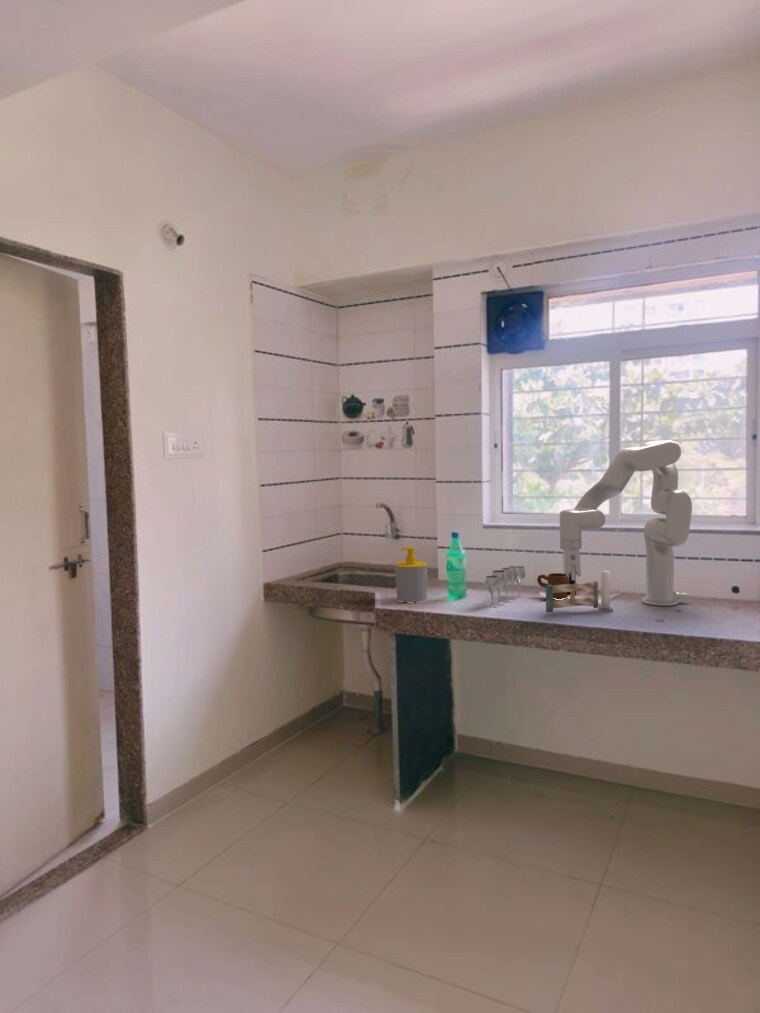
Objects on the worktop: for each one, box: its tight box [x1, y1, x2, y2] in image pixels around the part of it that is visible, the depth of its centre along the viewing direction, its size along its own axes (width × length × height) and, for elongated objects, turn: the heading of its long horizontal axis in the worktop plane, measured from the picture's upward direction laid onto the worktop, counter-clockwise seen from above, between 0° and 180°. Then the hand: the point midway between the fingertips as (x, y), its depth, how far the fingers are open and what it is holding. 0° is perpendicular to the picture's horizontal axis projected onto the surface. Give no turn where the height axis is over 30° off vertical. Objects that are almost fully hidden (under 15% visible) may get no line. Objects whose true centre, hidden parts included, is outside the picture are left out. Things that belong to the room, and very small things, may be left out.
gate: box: [545, 580, 599, 614], centre depth 243 cm, size 20×2×10 cm, turn 104°
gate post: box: [598, 570, 614, 613], centre depth 245 cm, size 4×5×14 cm
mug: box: [536, 572, 569, 599], centre depth 268 cm, size 12×8×9 cm, turn 60°
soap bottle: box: [394, 546, 428, 602], centre depth 271 cm, size 13×13×21 cm
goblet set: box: [485, 565, 527, 608], centre depth 263 cm, size 28×6×13 cm, turn 143°
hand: (571, 594), depth 247 cm, fingers closed
